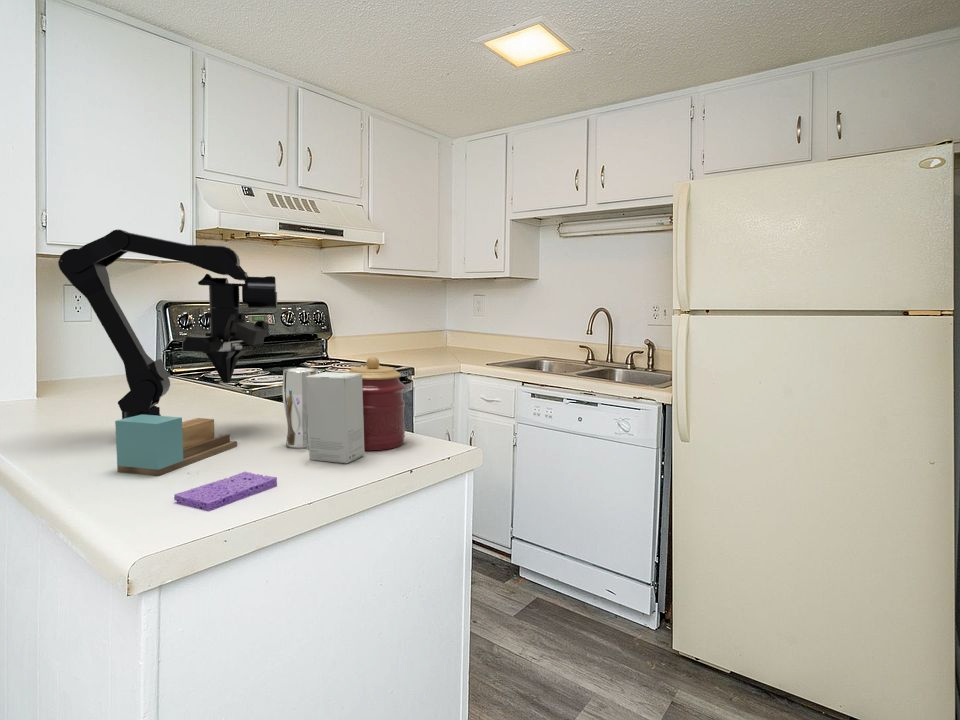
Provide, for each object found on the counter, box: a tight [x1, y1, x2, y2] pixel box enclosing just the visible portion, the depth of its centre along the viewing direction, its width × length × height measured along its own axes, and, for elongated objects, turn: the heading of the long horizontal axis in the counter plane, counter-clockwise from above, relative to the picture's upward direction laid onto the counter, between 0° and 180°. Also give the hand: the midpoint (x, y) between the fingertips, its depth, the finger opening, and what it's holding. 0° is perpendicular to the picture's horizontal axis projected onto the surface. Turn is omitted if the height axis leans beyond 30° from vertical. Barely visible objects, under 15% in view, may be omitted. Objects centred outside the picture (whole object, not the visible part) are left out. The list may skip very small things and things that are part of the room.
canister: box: [345, 356, 406, 451], centre depth 116 cm, size 13×13×18 cm
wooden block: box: [182, 417, 216, 449], centre depth 102 cm, size 4×14×5 cm, turn 167°
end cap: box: [114, 414, 183, 470], centre depth 96 cm, size 8×6×8 cm
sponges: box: [173, 471, 278, 512], centre depth 85 cm, size 7×13×2 cm, turn 154°
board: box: [117, 433, 238, 477], centre depth 103 cm, size 8×20×2 cm, turn 167°
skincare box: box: [306, 371, 366, 464], centre depth 105 cm, size 8×7×16 cm
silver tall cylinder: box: [282, 367, 319, 449], centre depth 114 cm, size 7×7×15 cm
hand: (226, 382), depth 121 cm, fingers closed
